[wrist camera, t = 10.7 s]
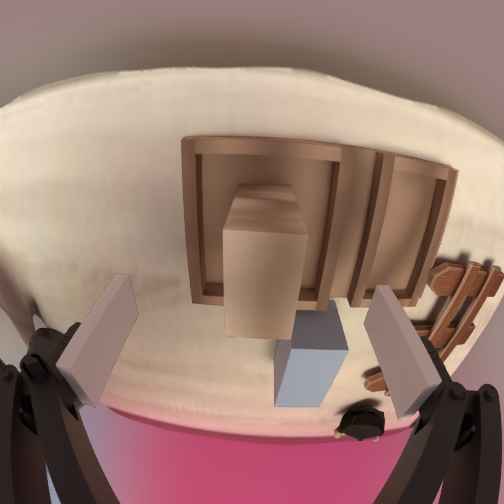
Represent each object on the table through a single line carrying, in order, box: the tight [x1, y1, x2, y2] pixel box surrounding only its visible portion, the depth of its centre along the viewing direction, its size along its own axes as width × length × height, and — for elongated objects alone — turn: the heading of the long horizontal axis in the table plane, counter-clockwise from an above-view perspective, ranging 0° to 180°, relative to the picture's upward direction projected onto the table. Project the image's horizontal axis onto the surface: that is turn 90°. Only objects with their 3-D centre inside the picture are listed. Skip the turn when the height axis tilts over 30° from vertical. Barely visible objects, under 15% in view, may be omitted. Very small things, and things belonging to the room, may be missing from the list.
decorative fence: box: [364, 261, 504, 396], centre depth 28 cm, size 23×2×15 cm
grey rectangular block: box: [274, 300, 349, 407], centre depth 27 cm, size 5×10×7 cm, turn 175°
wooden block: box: [223, 183, 308, 340], centre depth 18 cm, size 4×7×9 cm, turn 178°
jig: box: [181, 136, 459, 310], centre depth 22 cm, size 24×14×3 cm, turn 88°
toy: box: [335, 406, 385, 441], centre depth 38 cm, size 9×6×15 cm
